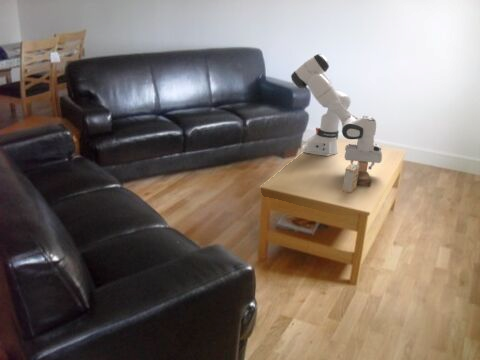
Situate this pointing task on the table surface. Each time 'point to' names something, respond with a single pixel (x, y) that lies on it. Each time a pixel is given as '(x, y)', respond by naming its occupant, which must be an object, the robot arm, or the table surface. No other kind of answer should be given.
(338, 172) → the table surface
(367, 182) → the plinth
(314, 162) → the table surface
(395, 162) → the table surface
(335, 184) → the table surface
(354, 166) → the supplement box
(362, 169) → the terracotta block
